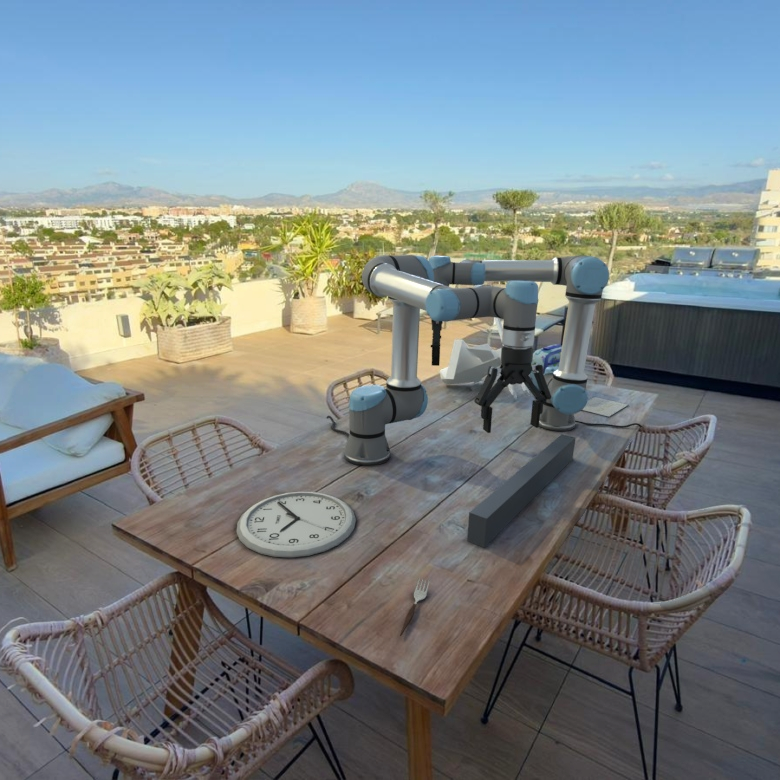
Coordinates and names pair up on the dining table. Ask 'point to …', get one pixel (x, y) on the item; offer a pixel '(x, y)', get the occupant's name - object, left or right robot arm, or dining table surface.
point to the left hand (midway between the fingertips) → (510, 428)
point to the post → (518, 491)
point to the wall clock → (296, 524)
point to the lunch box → (546, 359)
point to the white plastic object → (474, 363)
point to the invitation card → (603, 406)
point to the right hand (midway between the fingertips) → (435, 360)
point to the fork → (418, 596)
